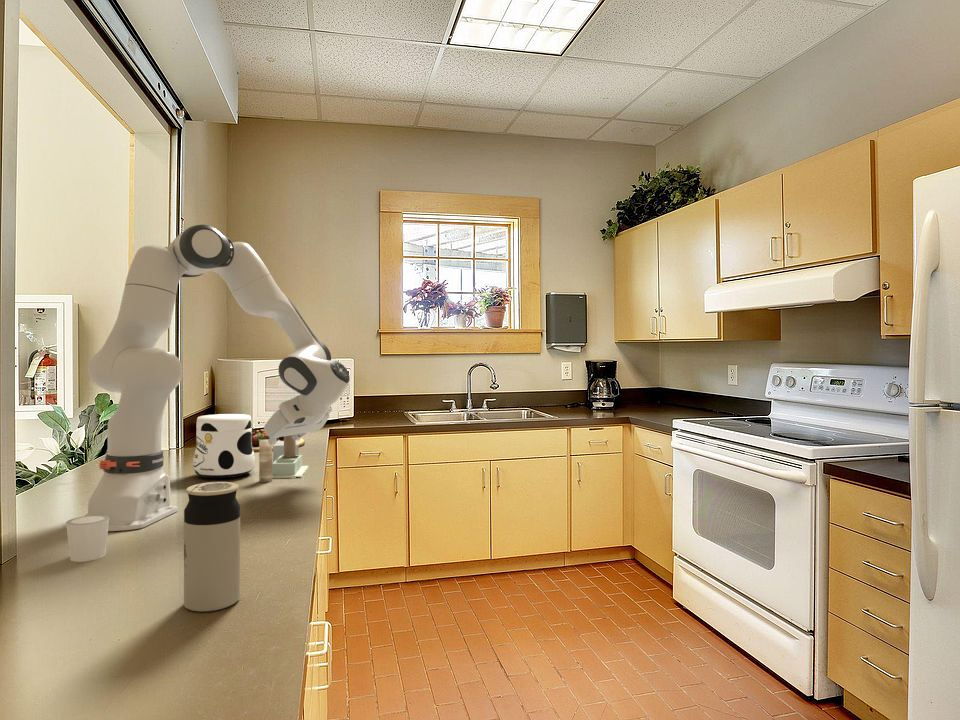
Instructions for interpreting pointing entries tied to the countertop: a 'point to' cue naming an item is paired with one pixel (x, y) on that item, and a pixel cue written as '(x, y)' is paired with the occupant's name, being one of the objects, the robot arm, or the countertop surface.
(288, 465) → the pin board
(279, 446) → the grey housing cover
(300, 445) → the wooden plate with food
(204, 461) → the milk container
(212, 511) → the travel mug
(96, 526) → the white cup
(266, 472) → the beech peg
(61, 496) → the countertop surface
